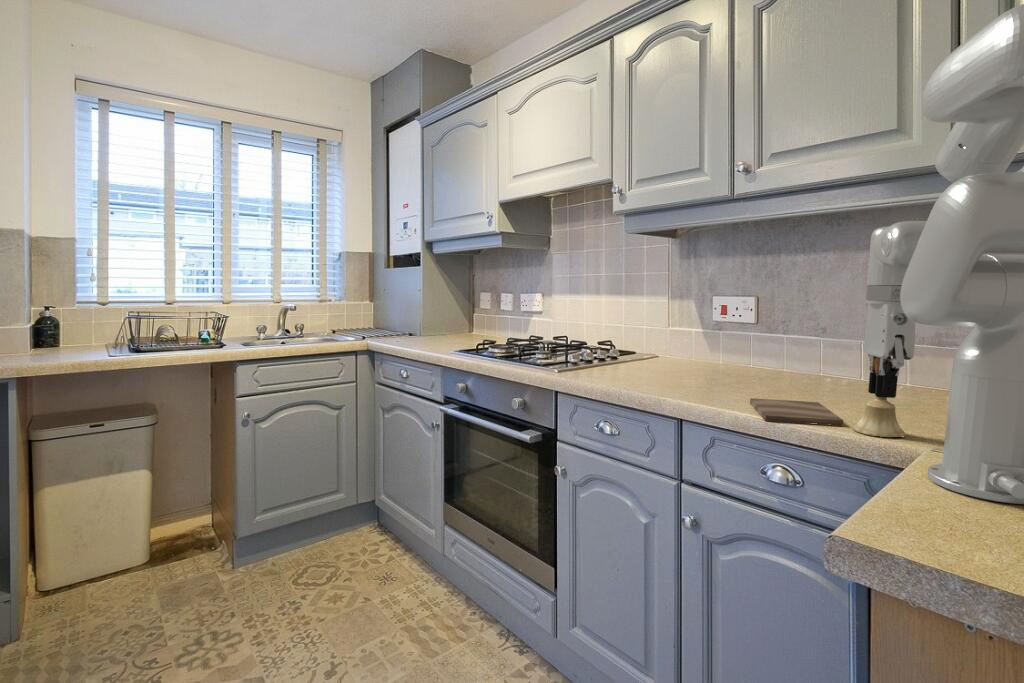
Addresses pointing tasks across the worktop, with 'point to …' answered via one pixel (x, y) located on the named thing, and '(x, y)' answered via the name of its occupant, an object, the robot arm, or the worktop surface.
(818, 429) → the worktop surface
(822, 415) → the walnut board
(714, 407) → the worktop surface
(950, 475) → the robot arm
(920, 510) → the worktop surface
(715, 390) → the worktop surface
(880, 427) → the hand bell
